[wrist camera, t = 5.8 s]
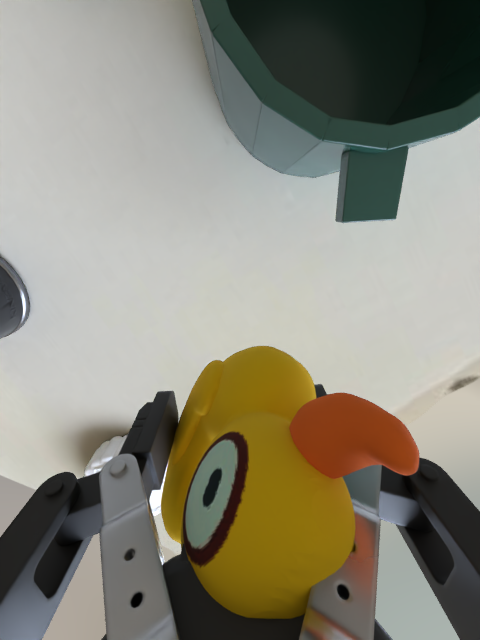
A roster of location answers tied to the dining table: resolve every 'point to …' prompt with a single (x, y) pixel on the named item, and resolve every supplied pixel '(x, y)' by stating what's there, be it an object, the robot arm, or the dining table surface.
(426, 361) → the dining table surface
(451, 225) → the dining table surface
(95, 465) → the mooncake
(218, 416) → the duckling
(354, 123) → the pot
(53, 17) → the dining table surface
